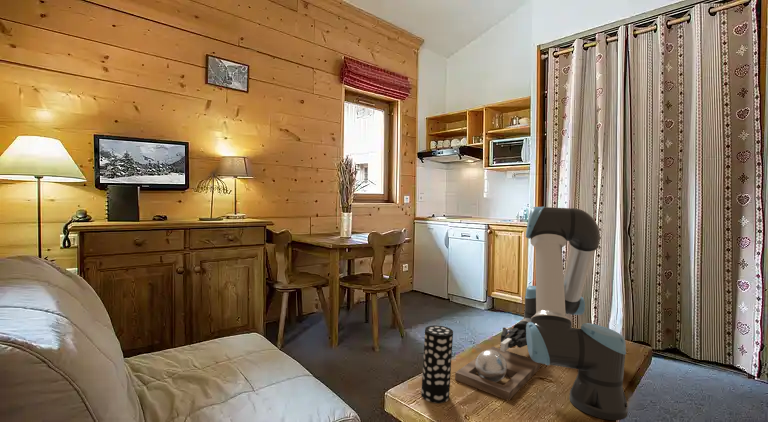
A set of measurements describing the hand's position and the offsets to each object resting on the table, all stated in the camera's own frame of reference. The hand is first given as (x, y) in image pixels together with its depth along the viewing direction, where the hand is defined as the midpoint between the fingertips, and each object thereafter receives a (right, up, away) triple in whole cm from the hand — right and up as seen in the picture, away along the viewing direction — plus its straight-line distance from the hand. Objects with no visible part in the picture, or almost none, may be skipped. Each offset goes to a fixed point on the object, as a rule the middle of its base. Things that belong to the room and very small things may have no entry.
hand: (502, 347), depth 132 cm
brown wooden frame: (-1, -9, -1) cm, 9 cm away
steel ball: (-6, -4, -7) cm, 10 cm away
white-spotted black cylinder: (-26, -8, -18) cm, 33 cm away
